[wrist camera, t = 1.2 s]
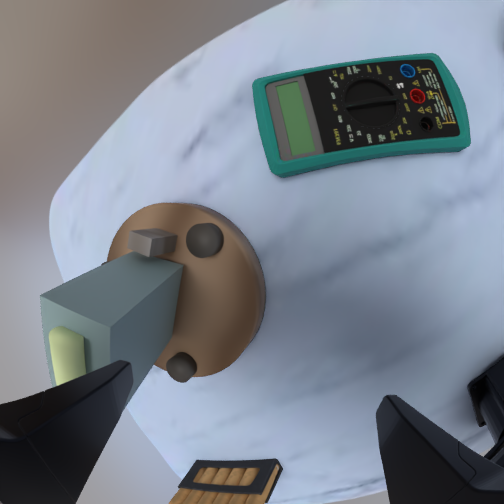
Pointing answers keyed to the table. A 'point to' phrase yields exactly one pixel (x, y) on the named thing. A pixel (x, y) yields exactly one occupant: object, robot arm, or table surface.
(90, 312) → the post
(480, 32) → the table surface
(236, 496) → the ammunition clip
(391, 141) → the digital multimeter
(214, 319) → the levelling base
